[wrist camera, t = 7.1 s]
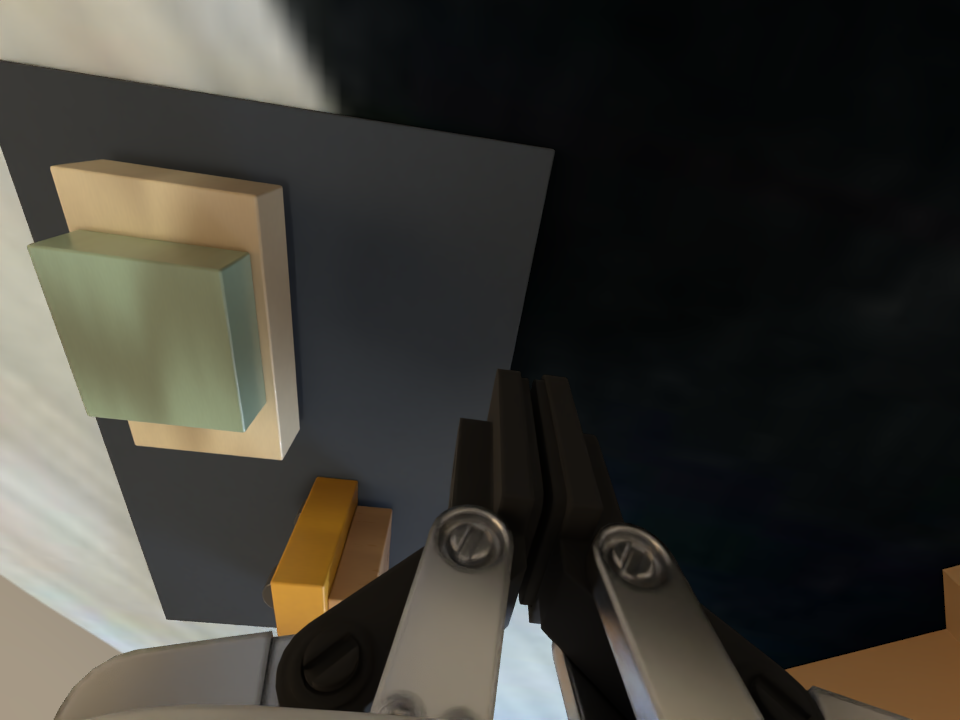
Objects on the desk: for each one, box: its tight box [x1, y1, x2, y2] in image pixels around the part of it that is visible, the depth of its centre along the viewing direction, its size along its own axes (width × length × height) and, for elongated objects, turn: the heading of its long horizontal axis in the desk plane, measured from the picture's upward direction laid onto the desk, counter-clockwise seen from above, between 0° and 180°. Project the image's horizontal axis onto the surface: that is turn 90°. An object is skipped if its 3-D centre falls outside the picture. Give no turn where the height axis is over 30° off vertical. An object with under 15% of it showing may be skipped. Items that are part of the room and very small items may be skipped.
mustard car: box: [262, 477, 392, 636], centre depth 20 cm, size 10×4×5 cm, turn 172°
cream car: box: [27, 159, 300, 460], centre depth 14 cm, size 9×4×5 cm
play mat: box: [0, 60, 555, 628], centre depth 19 cm, size 26×16×1 cm, turn 172°
